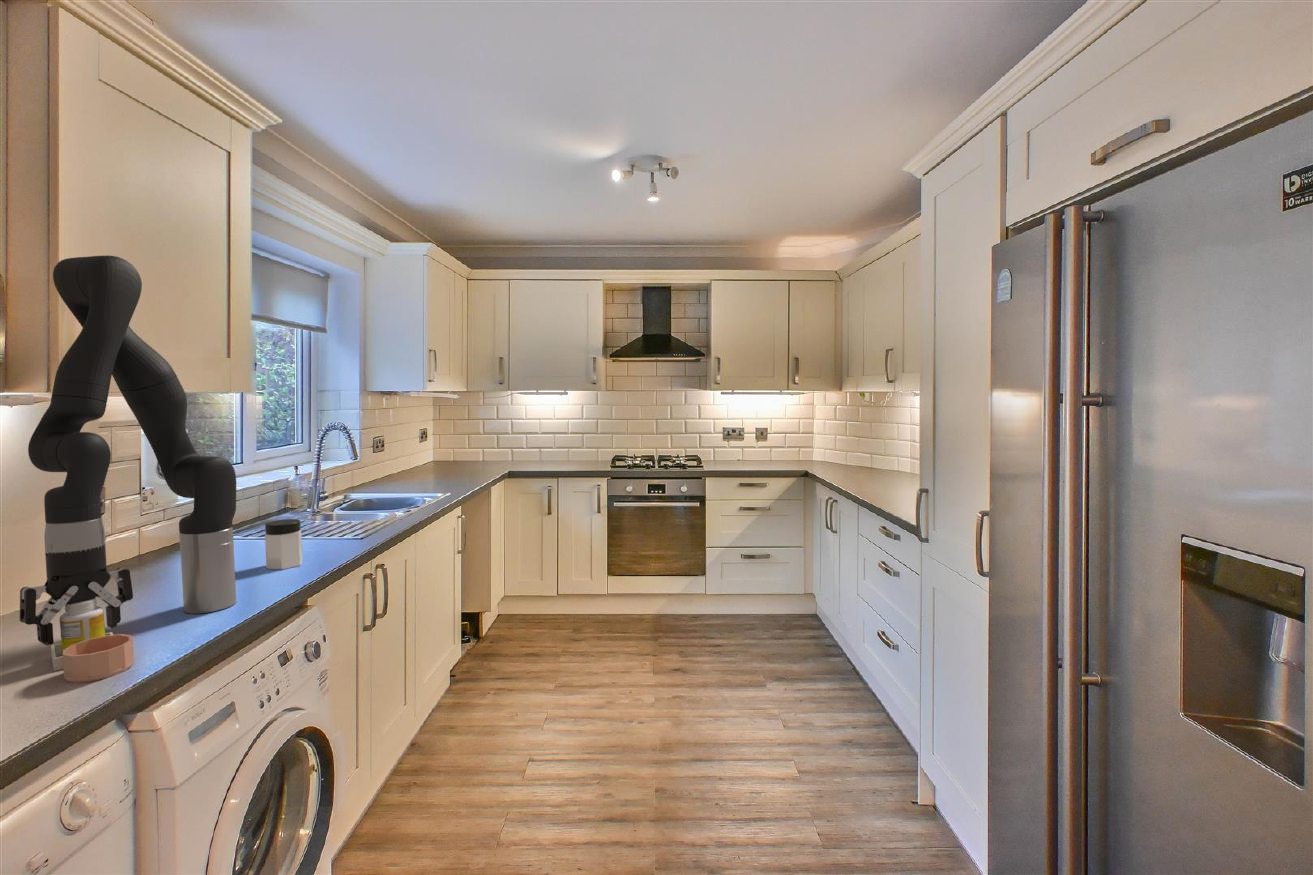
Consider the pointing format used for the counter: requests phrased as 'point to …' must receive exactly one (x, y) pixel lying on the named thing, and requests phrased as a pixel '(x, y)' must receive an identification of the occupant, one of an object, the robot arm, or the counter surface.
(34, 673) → the counter surface
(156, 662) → the counter surface
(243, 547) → the counter surface
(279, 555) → the jar
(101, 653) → the terracotta bowl
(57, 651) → the tray
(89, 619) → the supplement bottle
